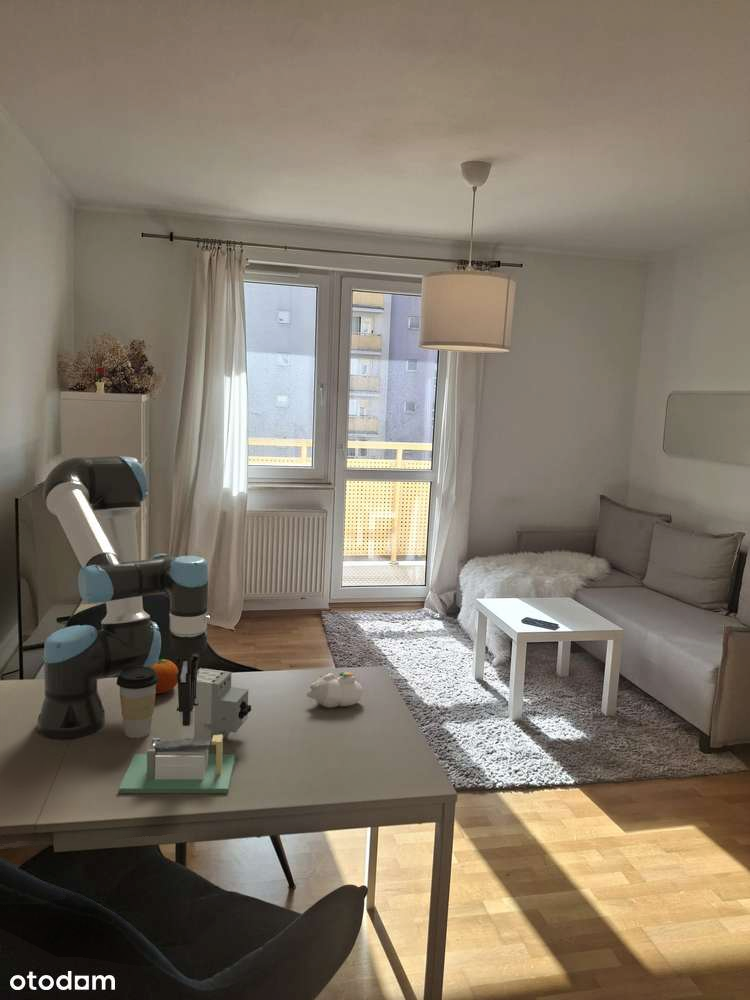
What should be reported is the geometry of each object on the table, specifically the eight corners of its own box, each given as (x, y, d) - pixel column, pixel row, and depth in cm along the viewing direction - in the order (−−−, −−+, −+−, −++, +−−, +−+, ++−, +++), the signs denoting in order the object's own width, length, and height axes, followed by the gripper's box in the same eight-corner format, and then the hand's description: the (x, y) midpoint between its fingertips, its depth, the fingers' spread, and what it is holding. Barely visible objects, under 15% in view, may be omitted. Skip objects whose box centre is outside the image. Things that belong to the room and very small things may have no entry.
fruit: (156, 702, 192) (156, 673, 191) (130, 691, 197) (130, 663, 196) (187, 689, 201) (187, 661, 200) (161, 679, 206) (161, 652, 205)
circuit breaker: (242, 748, 170) (243, 687, 168) (184, 740, 173) (185, 679, 170) (253, 734, 177) (255, 675, 175) (198, 725, 180) (199, 667, 178)
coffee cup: (135, 745, 169) (135, 684, 167) (108, 733, 174) (107, 673, 171) (166, 730, 177) (167, 671, 174) (140, 719, 182) (140, 661, 179)
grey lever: (149, 753, 155) (148, 747, 154) (152, 745, 158) (152, 740, 158) (209, 749, 156) (209, 744, 155) (211, 742, 159) (211, 737, 159)
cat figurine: (365, 667, 198) (311, 665, 193) (370, 693, 192) (315, 691, 187) (355, 689, 203) (302, 687, 198) (360, 714, 197) (306, 713, 192)
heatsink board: (118, 793, 150) (118, 754, 148) (135, 758, 164) (135, 722, 162) (228, 793, 152) (228, 754, 150) (235, 758, 166) (235, 723, 164)
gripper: (202, 642, 147) (200, 752, 150) (211, 621, 159) (209, 723, 163) (163, 641, 146) (163, 752, 150) (175, 620, 159) (174, 722, 163)
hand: (187, 736), depth 156 cm, fingers closed
